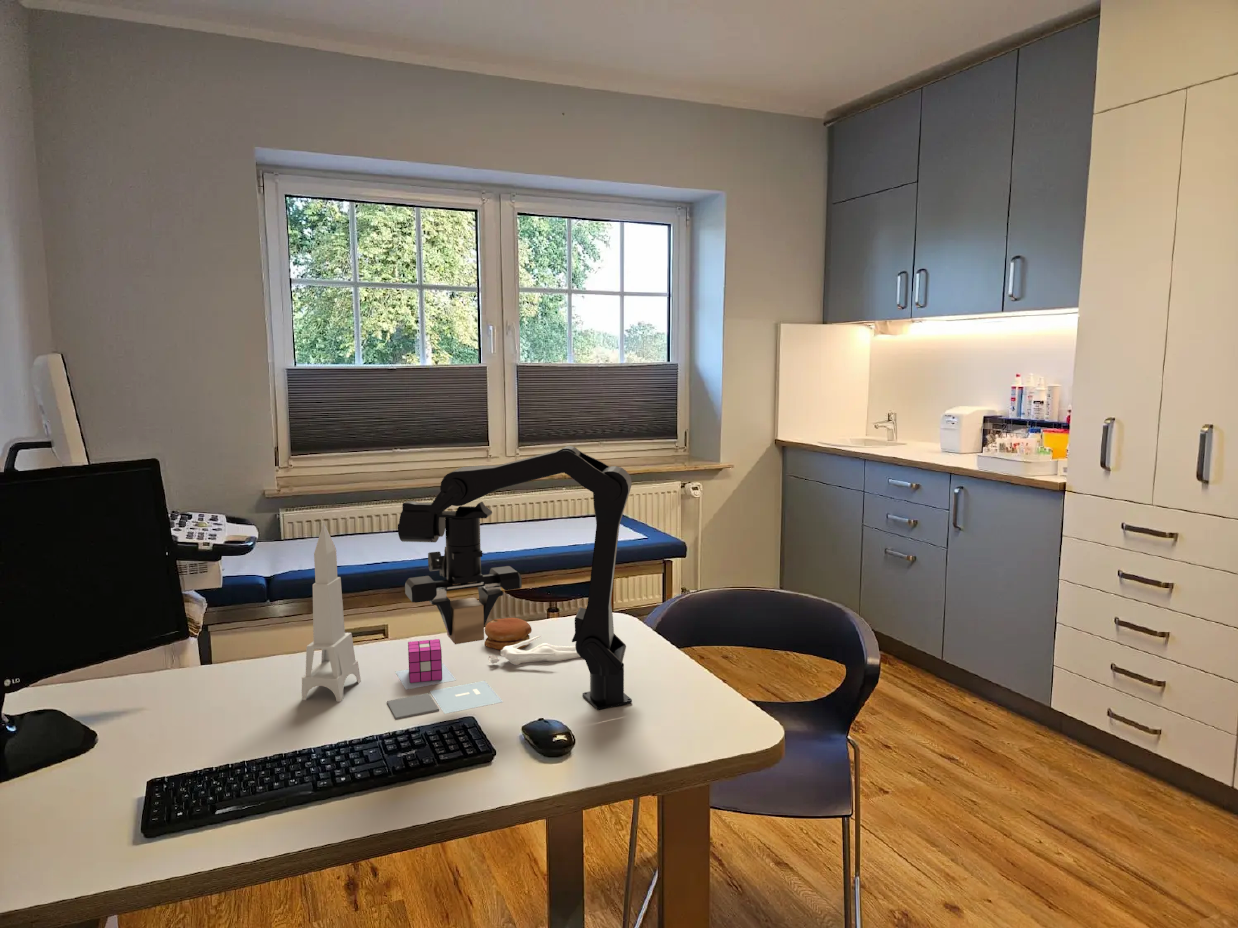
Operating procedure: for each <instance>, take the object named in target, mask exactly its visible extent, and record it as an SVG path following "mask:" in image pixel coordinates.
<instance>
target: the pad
mask: <svg viewBox="0 0 1238 928" xmlns="http://www.w3.org/2000/svg"><path fill="white" fill-rule="evenodd" d="M430 694H431V693H430V692H429V693H422V694H421V693H420V694H417V695H412V696H405V697H402V698H401V697H400V698H395V699H390V700H387V701H386V703H387V705H388V707H389V709H390V712H391V714H392V716H393V717H394V719H395V720H400V719H407V718H410V717H415V716H420V715H421V716H422V715H424V714H431V713H435V712H439V711H440V707H438V704H437V703H436V701H435V699H433V698H432V697H433V696H432V695H430Z"/></svg>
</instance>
